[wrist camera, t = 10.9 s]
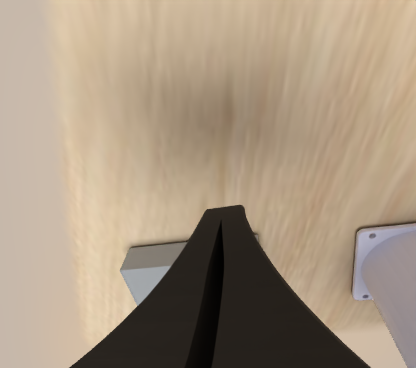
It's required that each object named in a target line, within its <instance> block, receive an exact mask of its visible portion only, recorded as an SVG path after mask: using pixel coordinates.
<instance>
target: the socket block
mask: <svg viewBox="0 0 416 368" xmlns="http://www.w3.org/2000/svg"><path fill="white" fill-rule="evenodd" d="M255 237H256V239H257V241H258V242H259V240H258V235H255ZM186 244H187V242H183V243H174V244H165V245H155V246H146V247H137V248H130V249H129V251H128V253H127V255H126V258H125V260H124V262H123V264H122V267H121V269H120V272H121V274H122V276H123V278H124V280H125V282H126V284H127V286H128V288H129V290H130V292H131V294H132V296H133V298H134V300H135V302H136V304H137V306H138V305H139V304H140V303H141V302H142V301H143V300H144V299H145V298H146V297H147V296H148V294H149V293H150V292H151V291H152V290H153V289H154V287H155V286H156V285H157V284H158V283H159V281H160V280H161V279H162V278H163V276H164V275H165V274H166V272H167V271H168V270H169V268H170V267H171V266H172V264H173V263H174V261H175V260H176V259H177V257H178V256H179V254H180V253H181V251H182V250H183V248H184V247H185V245H186Z"/></svg>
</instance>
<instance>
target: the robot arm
mask: <svg viewBox="0 0 416 368" xmlns="http://www.w3.org/2000/svg"><path fill="white" fill-rule="evenodd" d="M372 233H373V234H372ZM370 234H372V235H370ZM352 296H353V298H354V299H355V300H372V299H373V300H374V302H375V304H376V306H377V308H378V310H379V312H380V314H381V316H382V318H383V320H384V322H385V324H386V326H387V328H388V330H389V332H390V334H391V336H392V338H393V340H394V341H395V343H396V346H397V348H398V350H399V351H400V353H401V355H402V357H403V359H404V361H405V363H406V365H407V367H408V368H416V223H414V224H404V225H395V226H385V227H375V228H366V229H361V230H359V231H358V232H357V237H356V250H355V262H354V275H353V288H352ZM70 368H370V366H368V365H367V364H366V363H365V362H364V361H363V360H362V359H360V357H358V356H357V355H356V354H355V353H354V352H353V351H352V350H351V349H349V348H348V347H347V346H346V345H345V344H344V343H343V342H342V341H341V340H340V339H339V338H338V337H337V336H336V335H335V334H334V333H333V332H332V331H331V330H330V329H329V328H327V327H326V326H325V325H324V323H323V322H322V321H321V320H320V319H319V318H318V317H317V316H316V315H315V314H314V313H313V312H312V311H311V310H310V309H309V308H308V307H307V306H306V305H305V303H304V302H303V301H302V300H301V299H300V298H299V297H298V296H297V295H296V293H295V292H294V291H293V290H292V289H291V287H290V286H289V285H288V284H287V283H286V281H285V280H284V279H283V278H282V276H281V275H280V274H279V272H278V271H277V270H276V268H275V267H274V266H273V264H272V263H271V261H270V260H269V258H268V257H267V255H266V254H265V252H264V251H263V249H262V247H261V246H260V244H259V242H258V241H257V239H256V237H255V235H254V233H253V231H252V229H251V227H250V225H249V223H248V220H247V218H246V215H245V209H244V207H243V206H242V205H235V206H228V207H221V208H213V209H207V210H206V211H205V213H204V214H203V216H202V218H201V220H200V222H199V224H198V225H197V227H196V229H195V230H194V232H193V234H192V236H191V237H190V239H189V240H188V242H187V244H186V245H185V247H184V248H183V250H182V251H181V253H180V254H179V256H178V257H177V259H176V260H175V261H174V263H173V264H172V266H171V267H170V268H169V270H168V271H167V272H166V274H165V275H164V276H163V278H162V279H161V280H160V281H159V283H158V284H157V285H156V286H155V287H154V289H153V290H152V291H151V292H150V293H149V294H148V296H147V297H146V298H145V299H144V300H143V301H142V302H141V303H140V304H139V305H138V306H137V307H136V308H135V309H134V310H133V311H132V312H131V313H130V314H129V315H128V316H127V317H126V318H125V319H124V321H123V322H122V323H120V324H119V325H118V326H117V327H116V328H115V329H114V330H113V331H112V332H111V333H110V334H109V335H108V336H106V337H105V338H104V339H103V340H102V341H101V342H100V343H98V344H97V345H96V346H95V347H94V348H93V349H92V350H91V351H89V352H88V353H87V354H86V355H84V356H83V357H82V358H81V359H80V360H78V361H77V362H76V363H75V364H73V365H72V366H71V367H70Z"/></svg>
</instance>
